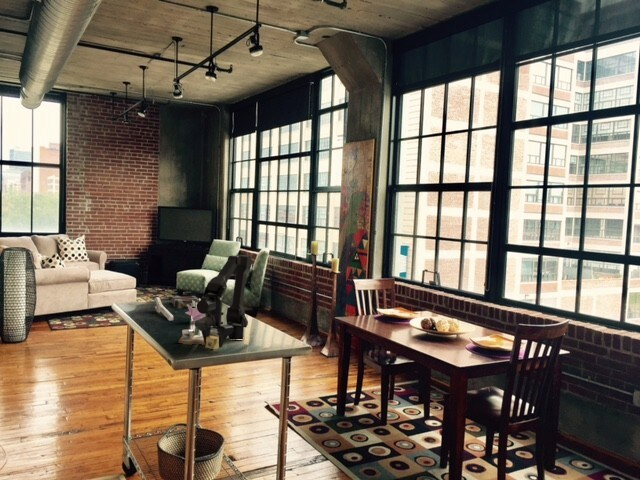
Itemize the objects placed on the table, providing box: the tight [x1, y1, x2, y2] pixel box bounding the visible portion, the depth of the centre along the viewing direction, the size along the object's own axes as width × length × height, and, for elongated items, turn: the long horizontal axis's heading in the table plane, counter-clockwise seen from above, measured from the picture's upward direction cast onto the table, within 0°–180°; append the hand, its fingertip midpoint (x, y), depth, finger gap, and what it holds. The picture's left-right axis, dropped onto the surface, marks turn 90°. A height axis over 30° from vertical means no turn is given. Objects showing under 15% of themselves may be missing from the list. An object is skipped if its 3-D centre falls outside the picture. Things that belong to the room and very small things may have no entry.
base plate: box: [177, 329, 219, 346], centre depth 244 cm, size 17×11×6 cm, turn 92°
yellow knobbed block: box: [205, 335, 219, 350], centre depth 234 cm, size 4×5×5 cm
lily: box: [185, 304, 206, 324], centre depth 282 cm, size 12×12×10 cm
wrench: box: [154, 296, 174, 322], centre depth 297 cm, size 8×2×30 cm
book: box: [171, 295, 198, 309], centre depth 327 cm, size 15×25×5 cm, turn 21°
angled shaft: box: [181, 328, 195, 340], centre depth 243 cm, size 5×3×4 cm, turn 122°
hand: (213, 345), depth 234 cm, fingers open, 9 cm apart
